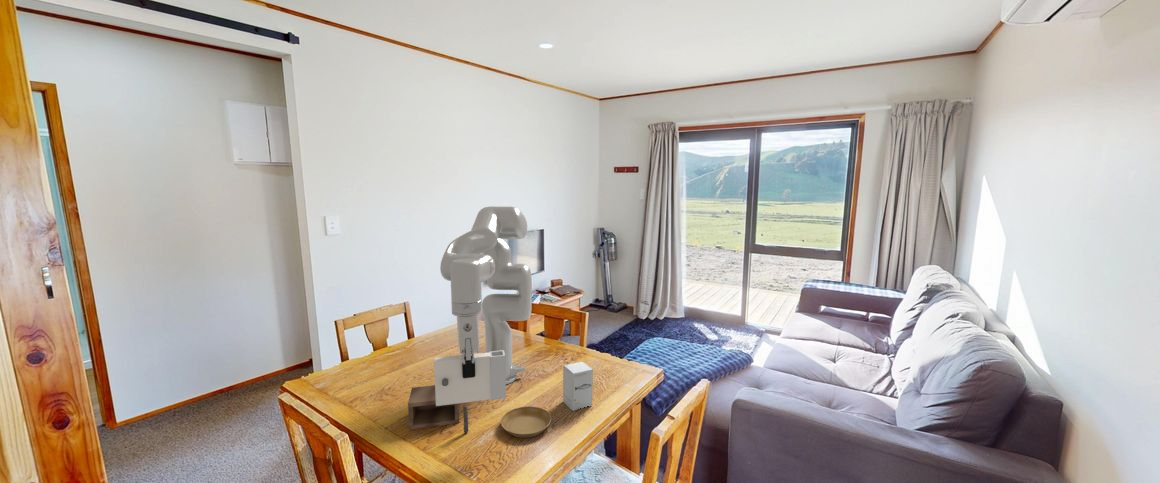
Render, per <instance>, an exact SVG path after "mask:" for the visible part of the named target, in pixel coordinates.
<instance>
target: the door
mask: <svg viewBox="0 0 1160 483" xmlns="http://www.w3.org/2000/svg"><path fill="white" fill-rule="evenodd" d="M471 355H472V354H471ZM465 356H466V355H465ZM474 362H475V377H472V378H463V375H462V363H463V354H459V355H458V354H457V355H451V356H447V355H446V356H439V357H438V356H437V357H434V360H433V365H434V366H433V368H434V385H435V395H436V406H441V405H449V404H457V403H460V404H463V403H472V402H480V401H487V400H488V401H489V400H491V401H496V400H503V399H507V389H506V388H507V387H506V386H507V384H506V370H505V353H504V350H501V351H490V352H489V353H486V352H481V353H480V352H478V353H474Z"/></svg>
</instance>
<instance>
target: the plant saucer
mask: <svg viewBox="0 0 1160 483" xmlns="http://www.w3.org/2000/svg"><path fill="white" fill-rule="evenodd" d="M551 422H552V415H551V413H550V412H549V411H548V410H546V409H544V408H541V407H539V406H533V405H532V406H519V407H517V408H513V409H511V410H509V411H506V413H504V414H503V416H502V417H501V419H500V424H501V425H500V426H501V428H503V429H504V431H506V432H507V433H509V434H510V435H511V436H514V437H516V438H517V437H518V438H531V437H536V436H538V435H540V434H542V433H543V432H544V431H545V430H547V428H548V427H549V426H550V424H551Z"/></svg>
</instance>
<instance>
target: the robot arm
mask: <svg viewBox="0 0 1160 483" xmlns="http://www.w3.org/2000/svg"><path fill="white" fill-rule="evenodd" d="M527 233H528V221H527V219H526V217H525V215H524V214H523V212H522V210H521V209H519V208H517V207H515V206H485V207H483V208H482V209H481V208H480V210H479V211H478V212H477V215H476V217H475V220H474V222H473V225H472V227H471V230H469V231H467V232H465V233H463V234H462V235H460V236H458V237H456V238H455V239H453V240H452V241H451V242H449V244H448V245H447V247H446V249H445V251H444V253H443V255H442V257H441V258H442V259H441V260H440V267H439V268H440V269H439V270H440V274H441V277H442V278H443V279H444V280H446V281H449V282H450V294H451V295H450V298H451V300H450V301H451V315H452V316H456V326H457V328H456V329H457V340H458V348H459V353H460V355H463V363H462V375H463V378H472V377H475V362H474V354H475V353H476V354H478V353H480V327H479V326H480V324H479V315H480V314H481V313H482V316H483V321H484V322H483V323H484V335H485V336H484V337H485V338H484V340H485V342H484V343H485V346H484V347H485V353H489V352H490V351H501V350H504V353H505V370H506V385H509V384H511V383H513V382H515V381H516V379H517V378H518V377H517V376H518V374H520V373H522V374H523V373H526V367H525V366H523V367H522V365H515V364H514V362H513V332H512V329H511V327H510V325H509V324H508V322H507V321H511V322H516V321H517V322H518V321H519V322H522V321H527V320H529V319H530V317H531V315H532V298H533V297H532V295H533V294H532V293H533V292H532V290H533V288H532V286H533V284H532V271H531V268H530V266H529V265H527V264H525V263H512V259H511V258H512V250H511V247H510V246H509V244H508V243H507V241H506V240H522V239H524V238H525V237H526V235H527ZM485 252H486V254H485ZM484 282H486V284H487V287H488V288H489V289H491V290H496V291H516V292H518V293H492V294H488V295H486V296H485V297H484V298H483V299H482V296H483V294H482V283H484ZM471 354H472V355H471ZM465 355H466V356H465Z"/></svg>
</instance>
